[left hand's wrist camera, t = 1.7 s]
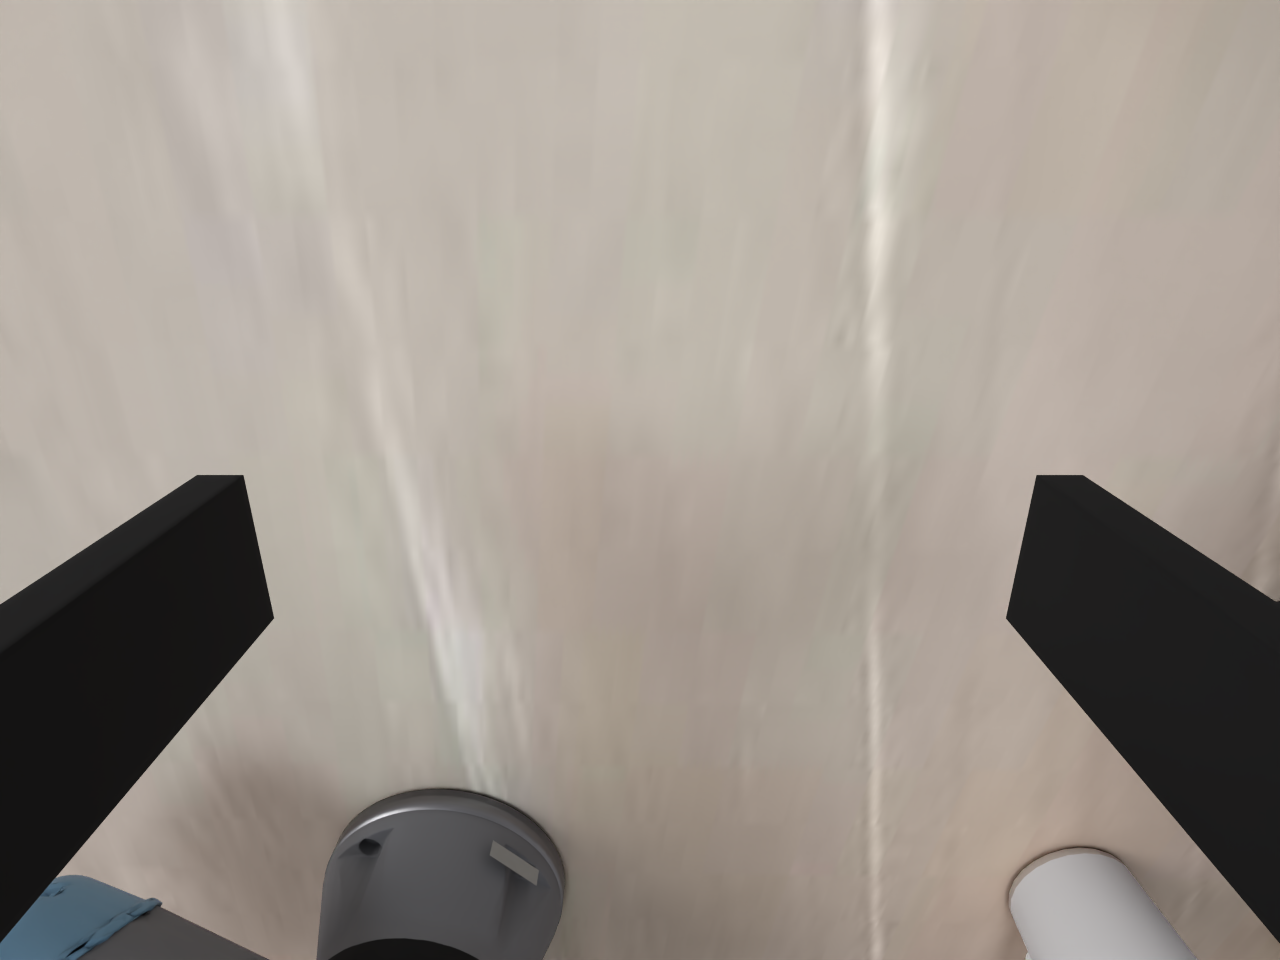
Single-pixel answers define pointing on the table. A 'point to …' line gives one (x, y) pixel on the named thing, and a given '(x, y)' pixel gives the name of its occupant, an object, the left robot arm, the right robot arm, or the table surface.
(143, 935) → the left robot arm
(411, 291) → the table surface
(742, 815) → the table surface
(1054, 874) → the mug
